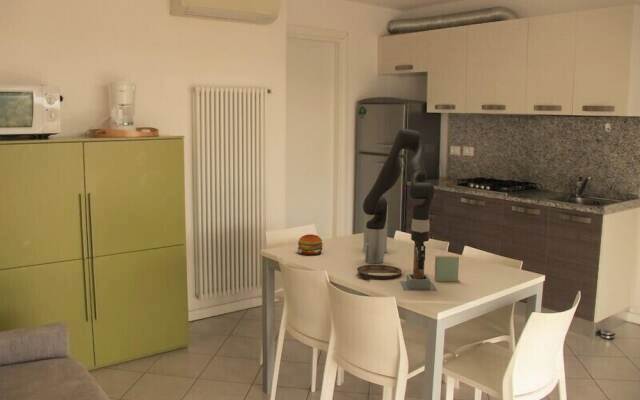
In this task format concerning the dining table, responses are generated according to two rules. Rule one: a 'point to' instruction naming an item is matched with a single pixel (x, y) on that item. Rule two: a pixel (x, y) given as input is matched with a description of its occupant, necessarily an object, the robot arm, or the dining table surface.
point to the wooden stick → (417, 272)
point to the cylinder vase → (366, 219)
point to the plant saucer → (378, 271)
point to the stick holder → (417, 284)
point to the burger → (310, 244)
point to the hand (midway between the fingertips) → (419, 266)
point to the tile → (446, 268)
